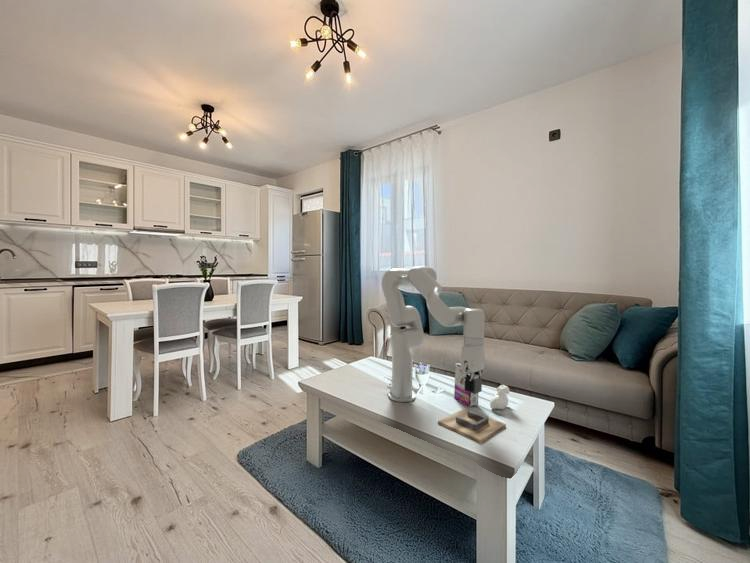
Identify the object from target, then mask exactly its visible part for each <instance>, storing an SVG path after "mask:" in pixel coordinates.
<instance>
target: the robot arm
mask: <svg viewBox="0 0 750 563" xmlns="http://www.w3.org/2000/svg"><path fill="white" fill-rule="evenodd" d="M399 287H400V288H406V287H407V288H408V287H413V288H415V290H417V291H418V293H420V294H421V295H422V296H423V298H425V300H426V301H425V302H426V306H427V309H428V311H429V313H430V314H431V316H432V317H433V318H434V319H435V320H436V321H437V322H438V323H439V324H440V325H441V326H444V327H446V328H453V327H459V326H463V333H462V334H463V337H462V338H463V341H462V342H463V343H462V347H461V352H460V353H461V354H460V362H459V363H460V370H461V371H462V372H461V374H462V375H463V376H464V379H465V390H467V391H470V392H473V381H472V379H473V373H474V374H476V375H479V378H482V376H483V370H484V369H485V360H486V359H485V348H484V347H485V312H484V310H483V309H482V308H481V309H480V308H468V307H464V306H448V305H446V303H445V302H444V301H443V300H442V299H441V297H440V295H441V293H442V292H443V287H442V285H441V284H440V283H439V282H438V281H437V272H436V270H435V269H433V267H430V266H421V265H420V266H419V265H418V266H413V267H411V268H410V269H409V268H407V269H406V268H392V269H388V270H386V271H385V273H384V274H383V275H382V278H381V288H382V292H383V295H384V299H385V302H386V309H387V314H388V318H389V322H390V324H391V326H393V327H397V328H399V327H405V328H402V329H398V330H395V331H394V332H393V333H392V334H391V335H390V347H391V358H392V359H391V363H392V364H391V365H392V366H391V368H392V369H391V370H392V371H391V382H389V383H388V385H387V387H386V388H387V389H389V392H388V398H389V399H390V400H392V401H394V402H397V403H399V402H400V403H407V402H408V403H409V402H412V401H414V400H415V399H416V394H415V393H414V392H413V375H414V373H413V370H414V369H413V366H414V365H413V364H414V362H413V356H412V353H411V350H412V349H416V348H419V347H421V346H422V345H423V344H424V342H425V335H424V334H425V333H424V328H423V324H422V319H421V315H420V312H419V310H418V309H417V308H416V307H415V306H413V305H406V304H405V299H404V296H403V295H404V294H403V293H402V292H401V291H400V289H399ZM468 370H469V372H468ZM468 373H469V374H470V376H469V375H468Z"/></svg>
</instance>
